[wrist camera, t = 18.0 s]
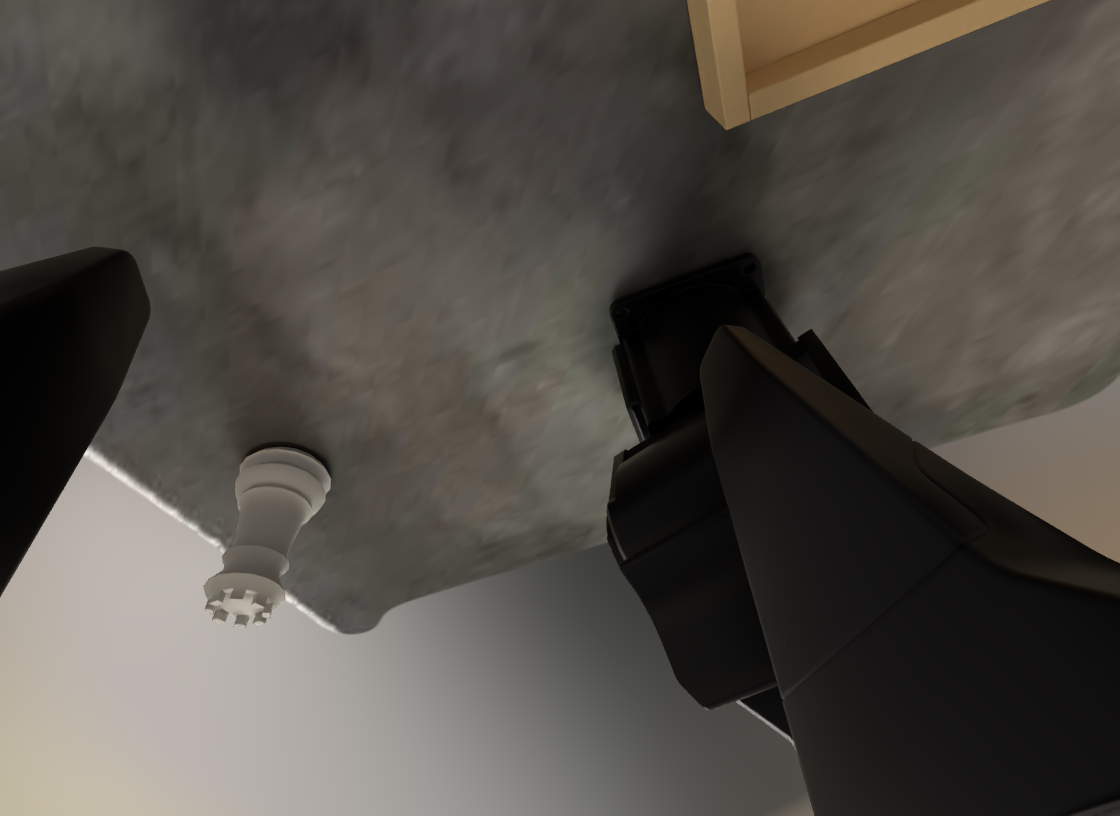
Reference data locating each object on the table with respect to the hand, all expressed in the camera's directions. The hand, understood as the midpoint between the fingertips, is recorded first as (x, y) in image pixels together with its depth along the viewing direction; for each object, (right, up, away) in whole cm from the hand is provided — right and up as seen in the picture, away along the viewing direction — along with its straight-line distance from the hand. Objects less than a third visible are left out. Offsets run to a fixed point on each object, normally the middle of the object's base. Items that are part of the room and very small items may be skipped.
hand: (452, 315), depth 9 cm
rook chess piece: (-13, -5, +21) cm, 25 cm away
